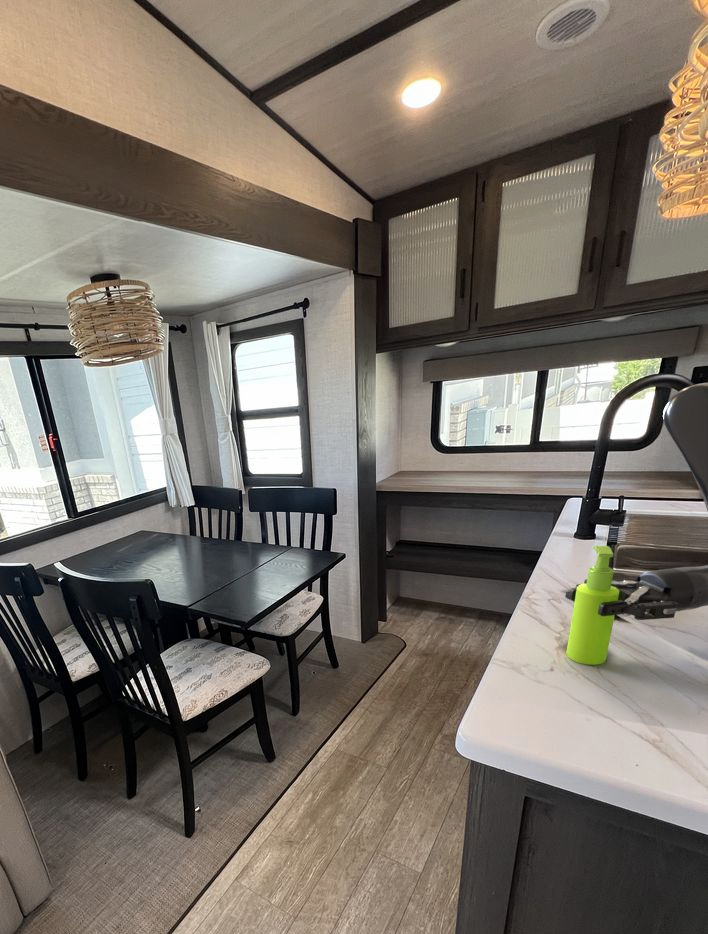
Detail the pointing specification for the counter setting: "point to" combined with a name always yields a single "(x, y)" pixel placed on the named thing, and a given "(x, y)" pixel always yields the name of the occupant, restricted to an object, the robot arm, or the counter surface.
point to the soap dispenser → (593, 613)
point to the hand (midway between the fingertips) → (585, 602)
